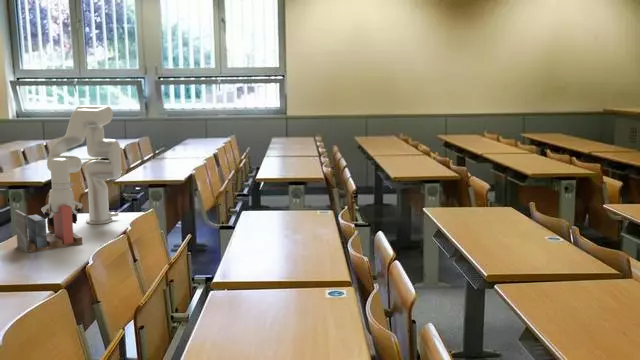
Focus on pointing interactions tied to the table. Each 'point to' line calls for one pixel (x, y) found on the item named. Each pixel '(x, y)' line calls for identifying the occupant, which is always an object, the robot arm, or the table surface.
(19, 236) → the book stand
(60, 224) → the book
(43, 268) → the table surface
